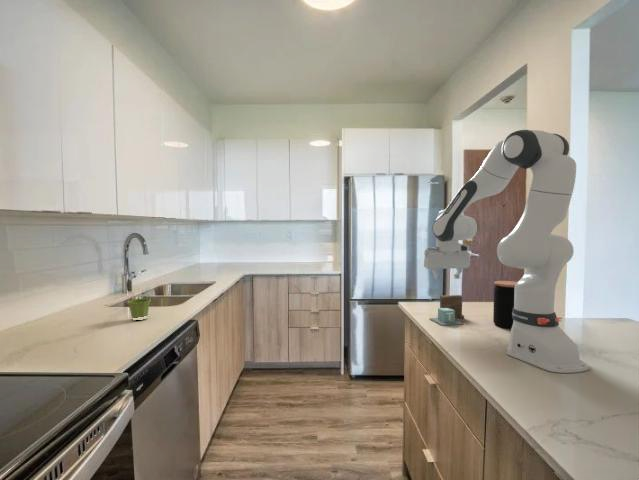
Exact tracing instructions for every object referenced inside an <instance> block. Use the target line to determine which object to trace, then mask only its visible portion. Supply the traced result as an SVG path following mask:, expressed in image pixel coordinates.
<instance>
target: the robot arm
mask: <svg viewBox="0 0 639 480" xmlns="http://www.w3.org/2000/svg"><path fill="white" fill-rule="evenodd" d="M569 151H570V144H569V141H568V140H567V139H566V138H565V137H564V136H562V135H560V134H557V133H551V132H547V131H544V130H538V129H537V130H535V129H532V130H530V129H519V130H515V131H513V132H511V133H510V134H508V135H507V136H506V137H505V139H503V140H501V141H498V143H496V144H495V145H494V147H493V148H492V149H491V150H490V151H489V153H488V154H487V156H486V157H485V159H484V160H483V162H482V164H481V166H480V167H479V169H478V170H477V172H476V173H475V174H474V175H473V176H472V177H471V178H470V179H469V180H468V181H467V182H465V183H464V184H463V185H462V186H461V188H459V190H458V191H457V193H456V194H455V195H454V197H453V198H452V199H451V201H450V202H449V204H448V205H447V206H446V207H445V209H442V210H439V211H438V214H437V216H436V219H435V220H434V222H433V224H432V228H431V229H432V233H433V235H434V236H435V238H436V240H435V241H436V242H435V243H436V246H434V247H431V246H430V247H427V248H425V250H424V261H423V267H424V269H426V270H431V272H432V274H433V276H434V280H440V276H441V275H439V274H438V273H437V272H438V270H445V269H446V270H447V269H448V270H449V269H455V270H456V273H455V274H453V278H454V279H456V280H457V279H460V275H461V274H462V272H463V269H469V268H470V267H471V254H470V252H469V251H470V246H469V245H466V244H463V243H460V242H459V241H467V240H473V239H474V238H475V237H476V236H477V234H478V231H479V225H478V222H477V220H476V219H475V218H474V217H471V216H467V215H465V214H464V213H465V211H466V210H467V208H469V206H470V205H471V204H473V203H474V202H476V201H479V200H481V199H485V198H489V197H492V196H495V195H498V194H500V193H501V192H502V191H504V189H505V188H506V187H507V186H508V185H509V183H510V182H511V180H512V179H513V177H514V175H515V174H516V172H517V171H518V169H519V168H521V169H523V170H528V169H530V171H531V172H532V180H531V184H530V187H529V191H528V196H527V199H526V202H525V207H524V210H523V213H522V214H521V217H520V219H519V220H518V222H517V223H516V225H515V226H514V228H513V229H512V230H511V232H510V233H509V234H508V235H506V236H504V237H503V238H502V239H501V240H500V241H499V242H498V244H497V247H496V254H497V255H496V256H497V259H498V260H499V262H501V264H502V265H503V266H506V267H509V268H513V269H514V268H515V269H518V270H519V269H520V270H521V269H522V270H525V271H524V274H523V275H522V277H521V278H520V279H519V280H518V281H516V282H517V283H516V284H515V287H514V308H513V311H512V318H513V319H514V320H513V325H512V328H511V329H510V332H509V342H508V345H507V348H506V350H505V351H506V352H505V354H506V355H507V356H511V357H513V358H516V359H518V360H520V361H523V362H525V363H528V364H531V365H532V366H535V367H538V368H540V369H543V370H546V371H548V372H552V373H559V374H561V373H563V374H565V373H566V374H567V373H568V374H569V373H570V374H572V373H581V372H585V371H588V370H590V364H589V363H587V362H585V361H583V360H581V359H580V350H579V347H578V345H577V344H576V343H575V341H573V339H572V338H570V337H569V336H568V334H567V333H566V332H565V331H564V330H563V329H562V328H561V327H560V326H559V325H560V324H559V323H560V322H562V319H563V318H562V317H558V316H557V313H556V312H555V298H556V297H555V296H556V295H555V294H556V287H557V283H558V281H559V278H560V275H561V273H562V271H563V268H564V267H565V266H566V264H567V263H568V262H570V261H571V260H572V258H573V256H574V246H573V244H572V242H571V241H570V240H569V239H568V238H566V237H564V236H561V235H557V234H553V233H552V232H553V231H554V230H555V228H556V227H557V226H559V225H560V224H561V223H563V222H564V221H565V219H566V218H567V213H568V211H569V208H570V205H571V200H572V196H573V193H574V189H575V183H576V175H577V163H576V160H575V159H574V158H573V157H571V156H569Z"/></svg>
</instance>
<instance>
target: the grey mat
mask: <svg viewBox="0 0 639 480" xmlns="http://www.w3.org/2000/svg"><path fill="white" fill-rule="evenodd" d="M429 320H430V321H431V322H434V323H436V324H438V325H439V326H441V327H446V326H459V325H461V326H462V325H463V326H464V323H463V322H462V321H459V320H457V319H455V322H447V323H444V322H442V321H440V320H438V317H430V318H429Z"/></svg>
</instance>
